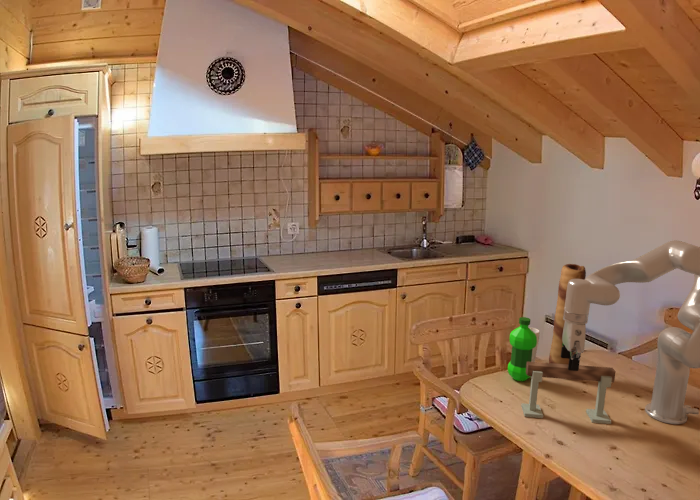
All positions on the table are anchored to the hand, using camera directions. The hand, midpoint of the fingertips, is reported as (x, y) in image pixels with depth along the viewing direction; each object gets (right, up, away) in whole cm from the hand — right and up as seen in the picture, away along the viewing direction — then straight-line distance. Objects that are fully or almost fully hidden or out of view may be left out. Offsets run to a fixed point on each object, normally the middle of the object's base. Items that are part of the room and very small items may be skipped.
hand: (569, 364), depth 176 cm
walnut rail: (0, -5, +1) cm, 5 cm away
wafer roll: (+12, -12, +36) cm, 40 cm away
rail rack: (0, -19, +4) cm, 19 cm away
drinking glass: (+1, -10, +45) cm, 46 cm away
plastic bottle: (-7, -13, +31) cm, 34 cm away
